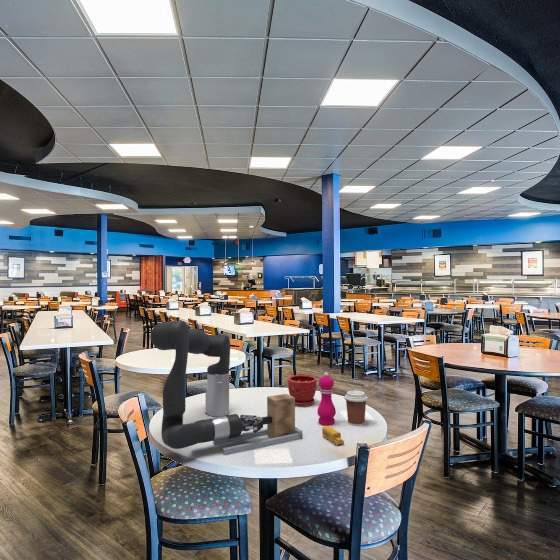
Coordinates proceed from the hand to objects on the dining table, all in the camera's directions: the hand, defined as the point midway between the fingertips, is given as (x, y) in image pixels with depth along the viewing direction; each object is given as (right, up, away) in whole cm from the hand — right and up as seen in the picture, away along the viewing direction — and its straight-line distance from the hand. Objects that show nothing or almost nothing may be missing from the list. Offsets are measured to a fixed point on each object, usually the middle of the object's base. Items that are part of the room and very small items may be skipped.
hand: (270, 419), depth 143 cm
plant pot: (+14, -8, +44) cm, 47 cm away
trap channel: (-4, -7, -3) cm, 9 cm away
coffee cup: (+33, -7, +17) cm, 38 cm away
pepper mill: (+22, -7, +17) cm, 28 cm away
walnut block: (+4, -7, +2) cm, 8 cm away
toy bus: (+22, -7, -2) cm, 23 cm away
